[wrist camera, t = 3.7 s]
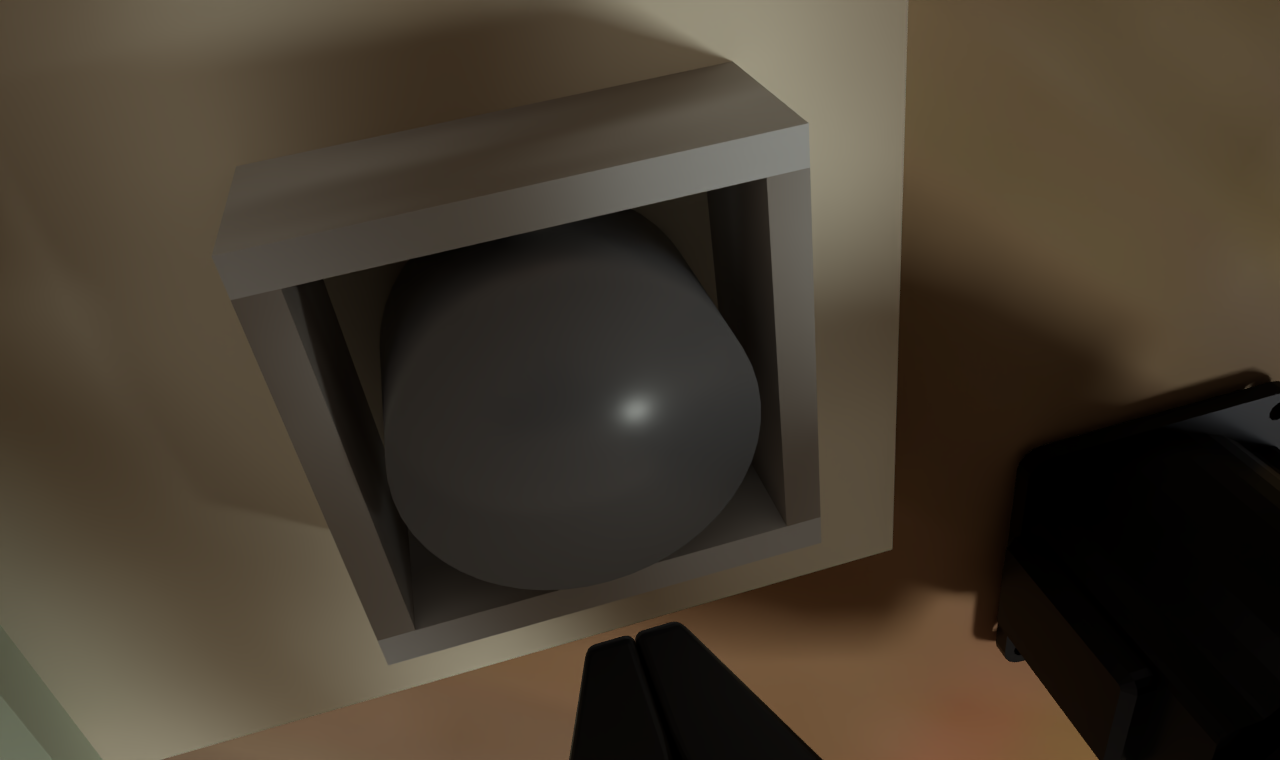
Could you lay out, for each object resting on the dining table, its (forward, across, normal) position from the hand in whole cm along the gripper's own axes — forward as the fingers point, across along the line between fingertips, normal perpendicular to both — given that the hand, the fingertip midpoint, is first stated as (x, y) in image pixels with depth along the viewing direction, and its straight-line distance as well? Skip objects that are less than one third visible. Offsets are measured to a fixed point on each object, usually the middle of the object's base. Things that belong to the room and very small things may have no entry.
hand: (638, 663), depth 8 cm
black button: (+6, 0, 0) cm, 6 cm away
